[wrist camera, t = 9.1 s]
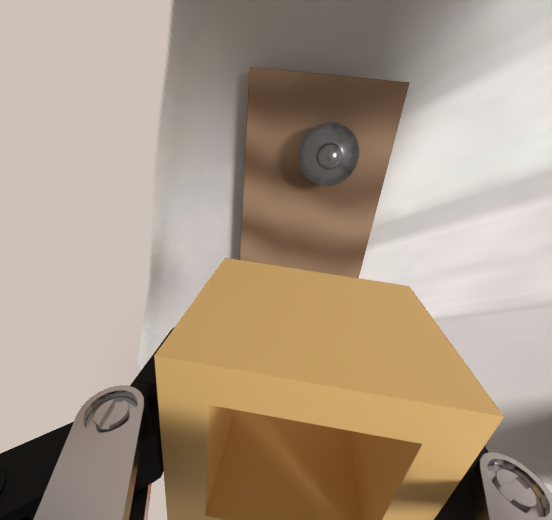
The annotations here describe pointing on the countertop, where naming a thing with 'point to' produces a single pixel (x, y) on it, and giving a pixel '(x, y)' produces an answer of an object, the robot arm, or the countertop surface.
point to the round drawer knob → (328, 154)
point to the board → (293, 183)
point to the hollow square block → (313, 401)
